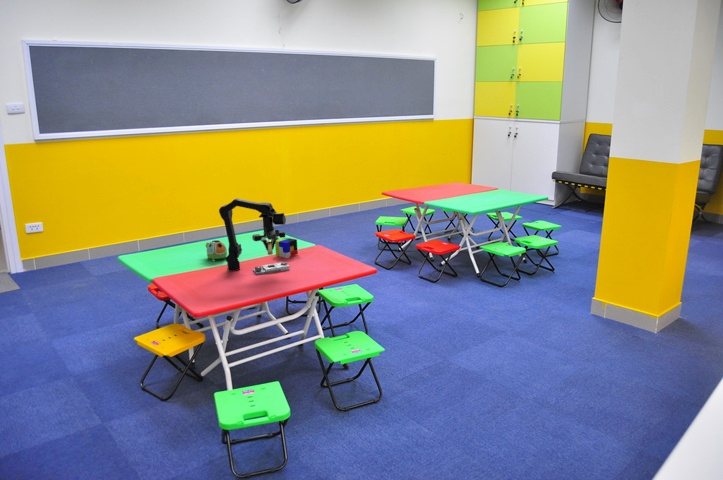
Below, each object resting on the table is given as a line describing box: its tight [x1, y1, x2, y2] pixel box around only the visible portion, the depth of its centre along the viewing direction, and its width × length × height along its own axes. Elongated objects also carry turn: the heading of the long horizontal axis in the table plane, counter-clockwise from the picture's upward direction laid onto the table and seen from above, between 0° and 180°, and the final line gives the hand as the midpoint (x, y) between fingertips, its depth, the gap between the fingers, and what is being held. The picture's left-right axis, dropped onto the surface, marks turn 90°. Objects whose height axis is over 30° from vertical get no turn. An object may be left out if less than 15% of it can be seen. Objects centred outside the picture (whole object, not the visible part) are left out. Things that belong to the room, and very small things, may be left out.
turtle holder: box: [205, 239, 228, 262], centre depth 369 cm, size 12×18×12 cm
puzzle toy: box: [274, 237, 298, 259], centre depth 372 cm, size 10×10×10 cm
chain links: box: [252, 261, 290, 276], centre depth 342 cm, size 20×9×3 cm, turn 114°
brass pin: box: [266, 239, 274, 256], centre depth 339 cm, size 3×3×8 cm
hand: (269, 250), depth 340 cm, fingers closed on brass pin, 3 cm apart
